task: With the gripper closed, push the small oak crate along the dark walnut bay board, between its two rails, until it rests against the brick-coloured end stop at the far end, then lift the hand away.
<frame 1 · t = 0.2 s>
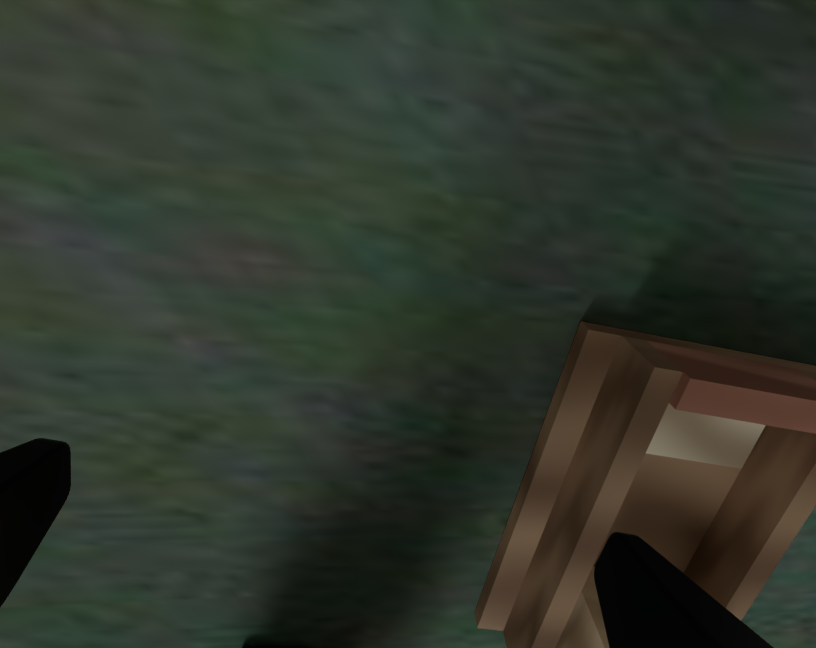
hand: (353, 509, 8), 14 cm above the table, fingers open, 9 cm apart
bay: (635, 502, 27), on the table
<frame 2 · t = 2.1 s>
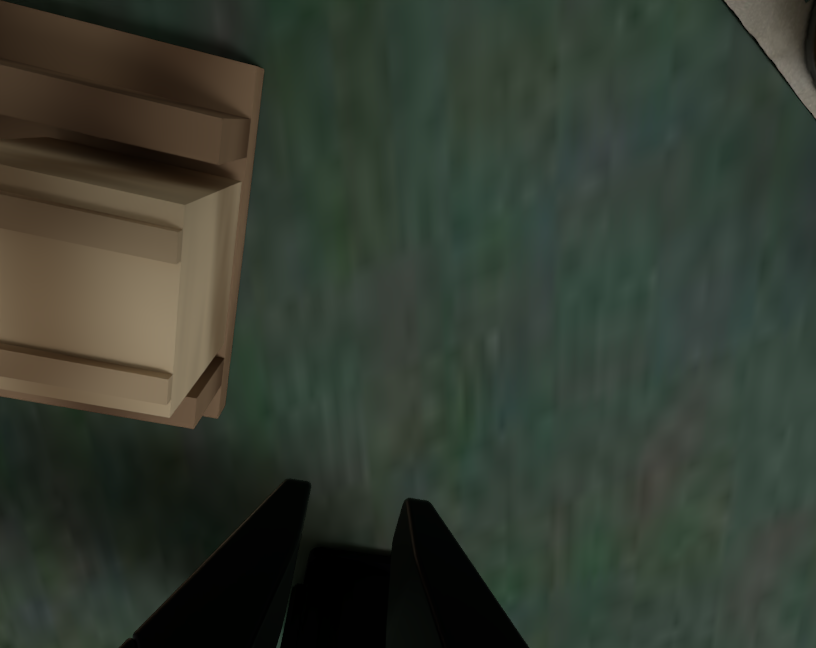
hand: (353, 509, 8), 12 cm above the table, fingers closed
crate: (102, 270, 15), point 4 cm above the table, slide at 0.0 cm
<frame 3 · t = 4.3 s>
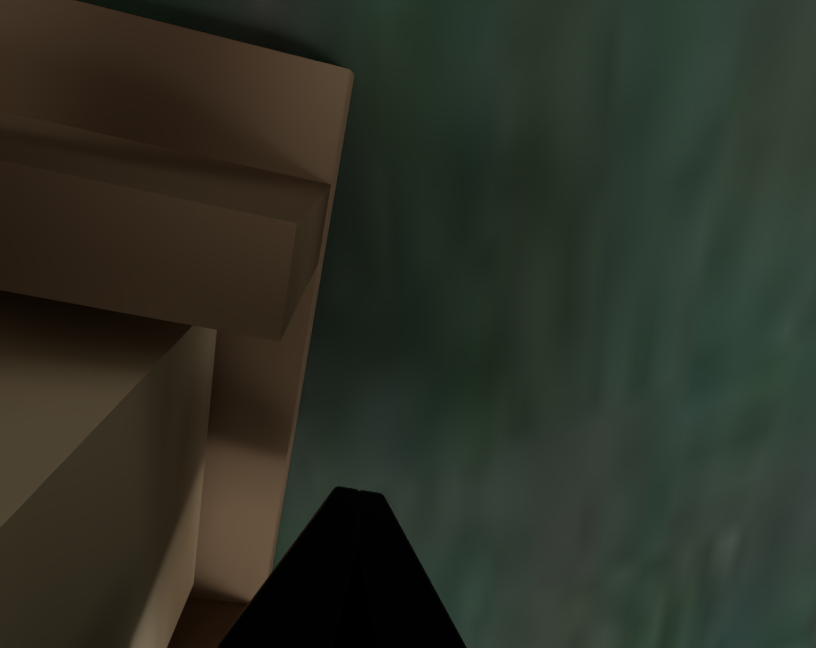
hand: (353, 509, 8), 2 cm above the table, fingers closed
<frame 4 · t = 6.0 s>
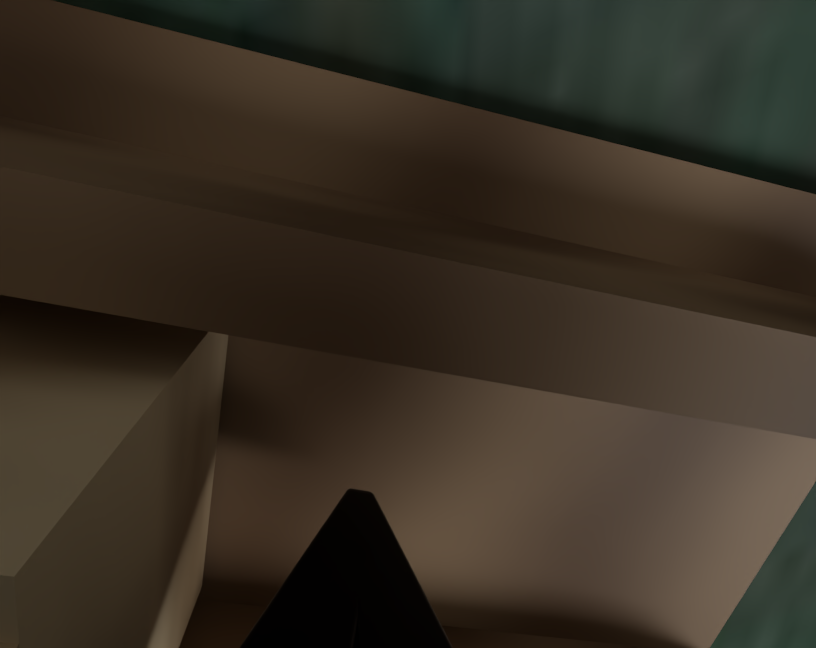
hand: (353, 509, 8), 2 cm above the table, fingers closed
bay: (339, 436, 10), on the table
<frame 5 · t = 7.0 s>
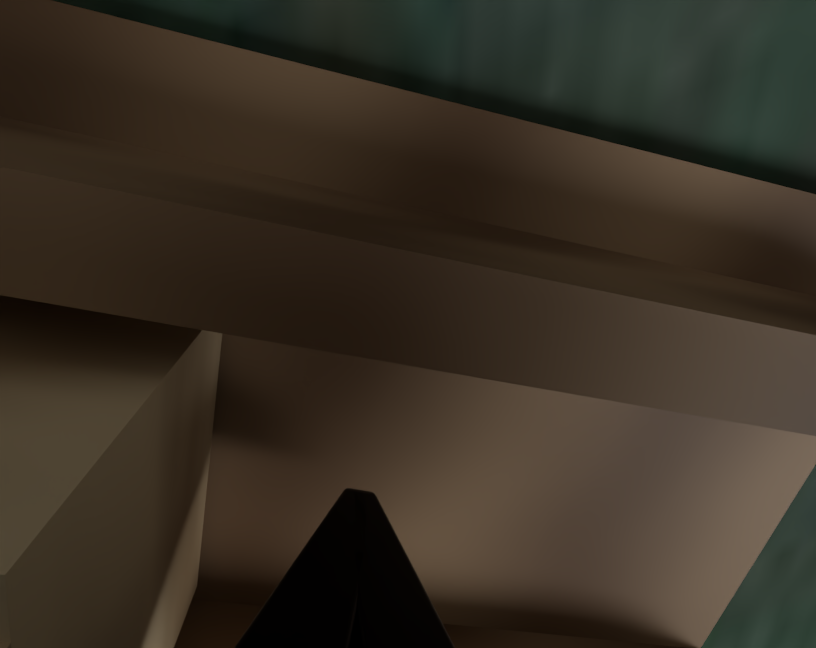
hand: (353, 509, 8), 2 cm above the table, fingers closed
bay: (334, 435, 10), on the table
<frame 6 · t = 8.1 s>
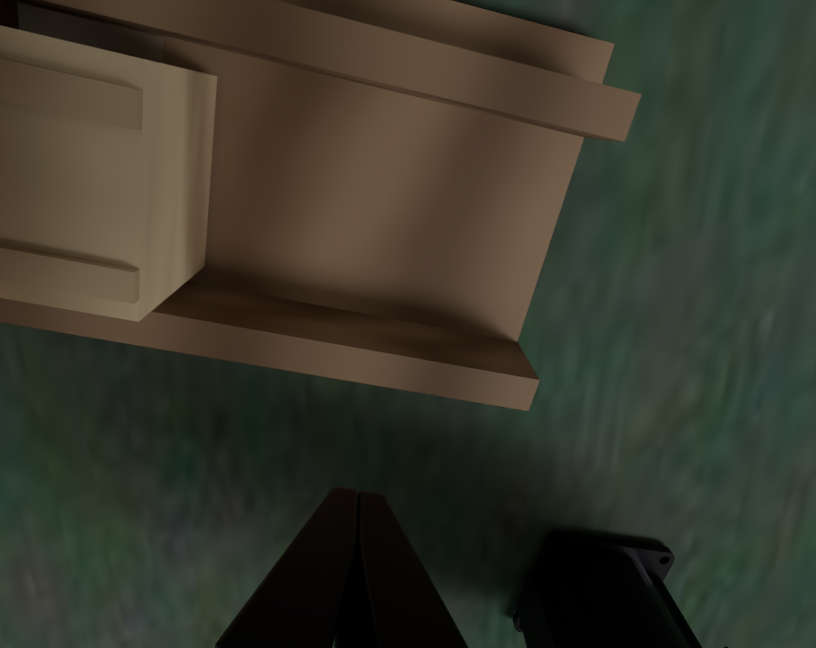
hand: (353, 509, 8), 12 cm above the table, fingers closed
crate: (62, 165, 13), point 4 cm above the table, slide at 11.6 cm, touching bay
bay: (283, 186, 18), on the table
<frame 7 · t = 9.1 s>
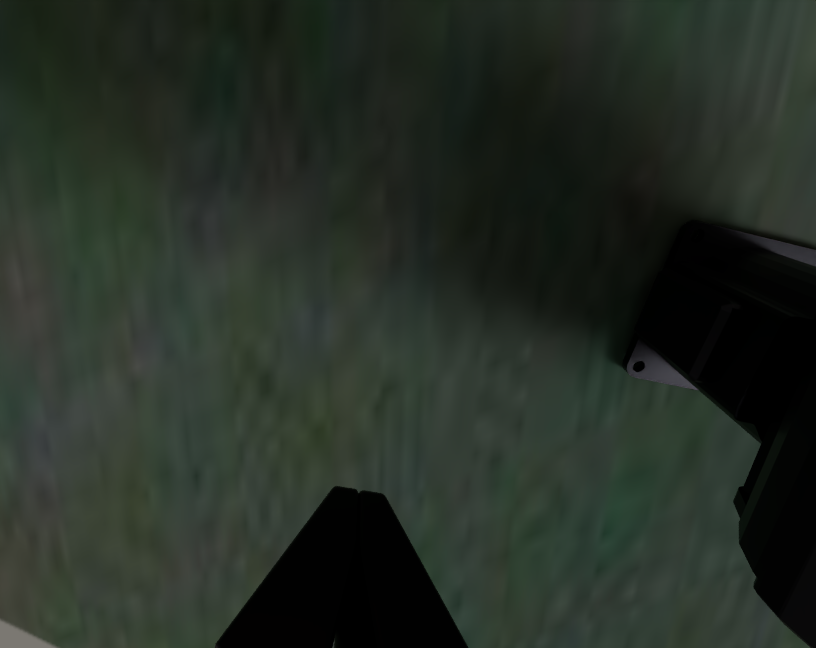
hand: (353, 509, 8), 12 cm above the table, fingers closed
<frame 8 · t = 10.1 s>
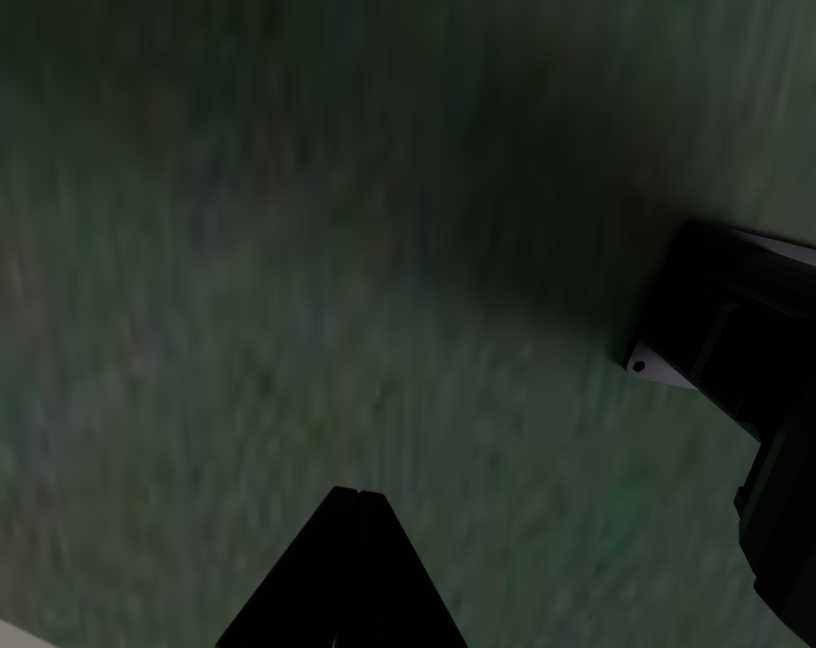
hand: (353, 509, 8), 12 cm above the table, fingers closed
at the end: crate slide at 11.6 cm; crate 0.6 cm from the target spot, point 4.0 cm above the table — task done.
